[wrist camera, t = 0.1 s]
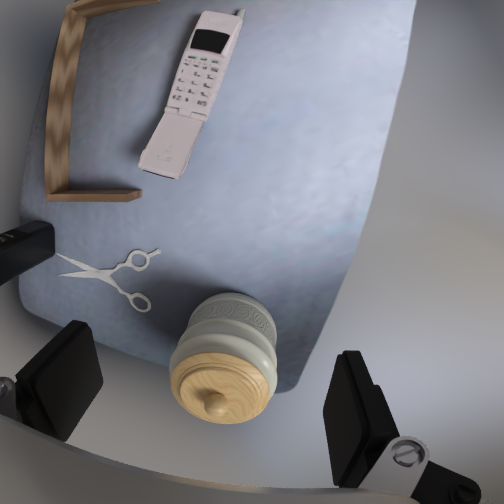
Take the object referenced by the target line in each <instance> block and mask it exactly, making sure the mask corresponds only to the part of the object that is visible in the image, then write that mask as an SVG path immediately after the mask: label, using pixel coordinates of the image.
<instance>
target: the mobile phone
mask: <svg viewBox="0 0 504 504" xmlns="http://www.w3.org/2000/svg"><path fill="white" fill-rule="evenodd" d="M244 13H245V9H242V8H241V9H240V10H239V11H238V13H237V15H236V16H234V15H229V14H223V13H218V12H212V11H204V12H203V13H202V15H201V16H200V18H199V20H198V22H197V24H196V26H195V28H194V30H193V32H192V34H191V37H190V39H189V41H188V44H187V46H186V48H185V51H184V54H183V56H182V59H181V62H180V64H179V67H178V70H177V73H176V76H175V79H174V82H173V86H172V89H171V92H170V95H169V99H168V102H167V105H166V108H165V113H164V115H163V117H162V119H161V121H160V122H159V124H158V126H157V128H156V130H155V132H154V133H153V135H152V137H151V139H150V141H149V143H148V145H147V147H146V149H144V150H143V152H142V154H141V156H140V161H139V164H138V167H139V168H140V169H141V170H143V171H147V172H150V173H153V174H156V175H160V176H163V177H168V178H172V179H180V178H181V176H182V174H183V171H185V170H186V167H187V165H188V163H189V161H188V160H189V158H190V155H191V153H192V150H193V148H194V145H195V143H196V140H197V138H198V136H199V133H200V131H201V129H202V126H203V124H204V122H205V121H207V119H208V116H209V114H210V111H211V108H212V105H213V103H214V101H215V98H216V95H217V93H218V90H219V88H220V85H221V82H222V80H223V77H224V74H225V72H226V69H227V66H228V64H229V61H230V58H231V55H232V52H233V49H234V47H235V44H236V41H237V38H238V36H239V33H240V29H241V26H242V21H243V17H244ZM225 61H226V62H225Z"/></svg>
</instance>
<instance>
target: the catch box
mask: <svg viewBox="0 0 504 504" xmlns="http://www.w3.org/2000/svg"><path fill="white" fill-rule="evenodd" d="M159 2H160V0H81V1H78V2H75V3H72V4H69V5H67V7H66V11H65V15H64V18H63V22H62V26H61V30H60V34H59V39H58V43H57V48H56V53H55V58H54V64H53V70H52V76H51V83H50V91H49V99H48V108H47V120H46V135H45V202H128V201H131V200H134V199H138V198H141V197H142V190H69V145H70V126H71V113H72V102H73V93H74V85H75V77H76V70H77V64H78V58H79V52H80V47H81V42H82V37H83V32H84V28H85V23H86V19H87V18H90V17H94V16H97V15H101V14H105V13H109V12H113V11H117V10H122V9H126V8H131V7H136V6H141V5H147V4H153V3H159Z"/></svg>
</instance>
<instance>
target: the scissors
mask: <svg viewBox="0 0 504 504" xmlns="http://www.w3.org/2000/svg"><path fill="white" fill-rule="evenodd" d="M160 253H161V250H160V249H157V250H156V251H154V252H152V253H150V254H147V252H145V251H142V250H134V251H133V252H132V253H130V254H129V256H128V259H127V261H126V262H125V263H118V265H117V267H116V268H115V269H100V270H98V269H96V268H93V267H91V266H89V265H86V264H84V263H82V262H79V261H76V260H74V259H71V258H68V257H66V256H63V255H61V254H58V253H56V254H58V255H59V256H61V257H63V258H65V259H66V260H68V261H70V262H71V263H73V264H75V265H77V266H79V267H80V268H82V269H84V270H87V271H82V272H74V273H68V274H61V276H72V277H85V278H99V279H100V280H103V281H105V282H107V283H109V284H111V285H113V286H115V287H116V288H117V289H118V291H119V292H120V293H122V294H124V295H126V296H127V297H128V299H129V301H130V303H131V305H132V306H133V307H134V308H135V309H136V310H138V311H140V312H147V311H149V310H150V309H151V302H150V300H149V299H148V298H147V297H146V296H145V295H143V294H141V293H139V292H137V293H134V294H132V295H131V294H130V293H127V292H125V291H123V290H122V289H121V288H120V287H119V286H118V285H117V284H116V282H115V281H114V280H113V279H112V277H111V276H110V275H111V274H112V273H113V272H115V271H116V270H117V269H118V268H120V267H123V266H128V267H132V268H133V269H134V270H136V271H142V270H144V269H145V268H146V267H147V266H148V265H149V263H150V257H152V256H154V255H155V254H160ZM134 254H142V255H144V256H145V258H146V264H145V265H144V266H142V267H141V266H135V265H134V264H133V263H132V256H133V255H134ZM134 297H140V298H142V299H144V300H145V301H146V302H147V303H148V308H147V309H145V310H143V309H139V308H138V307H137V306H136V305H135V304H134V303H133V298H134Z"/></svg>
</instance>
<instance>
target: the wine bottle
mask: <svg viewBox="0 0 504 504" xmlns="http://www.w3.org/2000/svg"><path fill="white" fill-rule="evenodd" d="M54 254H55V231H54V227H53V226H52V225H51V224H47V223H42V222H38V221H34V222H31V223H28V224H25V225H23V226H20V227H17V228H15V229H12V230H9V231H7V232H4V233H2V234H0V286H2V285H3V284H4V283H6V282H8V281H10V280H12V279H13V278H15V277H17V276H19V275H20V274H22V273H24V272H26V271H27V270H29V269H31V268H33V267H34V266H36V265H38V264H40V263H42V262H43V261H45V260H47V259H49V258H51V257H53V255H54Z"/></svg>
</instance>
